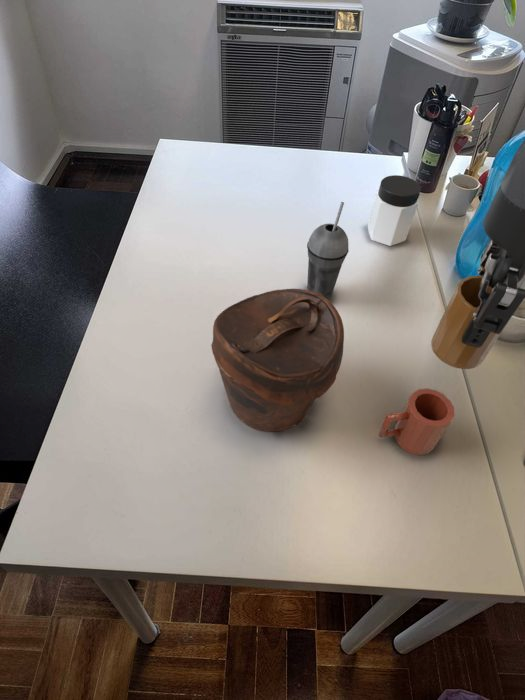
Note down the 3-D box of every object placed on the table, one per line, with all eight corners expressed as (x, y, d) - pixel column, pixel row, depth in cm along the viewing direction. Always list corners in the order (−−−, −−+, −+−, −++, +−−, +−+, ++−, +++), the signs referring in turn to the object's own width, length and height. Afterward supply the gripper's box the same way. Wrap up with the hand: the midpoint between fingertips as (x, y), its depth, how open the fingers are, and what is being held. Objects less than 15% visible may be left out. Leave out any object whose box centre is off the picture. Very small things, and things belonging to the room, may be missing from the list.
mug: (425, 416, 73) (443, 386, 67) (441, 452, 69) (462, 423, 63) (368, 423, 72) (381, 393, 66) (382, 460, 68) (396, 431, 62)
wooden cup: (469, 328, 60) (500, 273, 54) (493, 366, 56) (529, 313, 50) (423, 332, 60) (448, 277, 53) (443, 371, 55) (473, 317, 49)
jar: (408, 247, 102) (426, 197, 93) (371, 246, 101) (385, 196, 92) (399, 223, 108) (415, 174, 99) (364, 222, 107) (377, 173, 98)
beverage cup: (293, 288, 91) (305, 195, 76) (326, 280, 93) (345, 188, 78) (309, 313, 87) (326, 220, 72) (344, 304, 89) (367, 212, 74)
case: (335, 359, 80) (356, 279, 66) (320, 464, 67) (343, 390, 53) (233, 340, 82) (233, 257, 68) (199, 439, 69) (192, 361, 55)
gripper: (598, 247, 37) (504, 377, 49) (584, 165, 46) (507, 293, 58) (499, 223, 38) (432, 356, 51) (504, 148, 47) (446, 276, 60)
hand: (472, 322), depth 54 cm, fingers closed on wooden cup, 6 cm apart
